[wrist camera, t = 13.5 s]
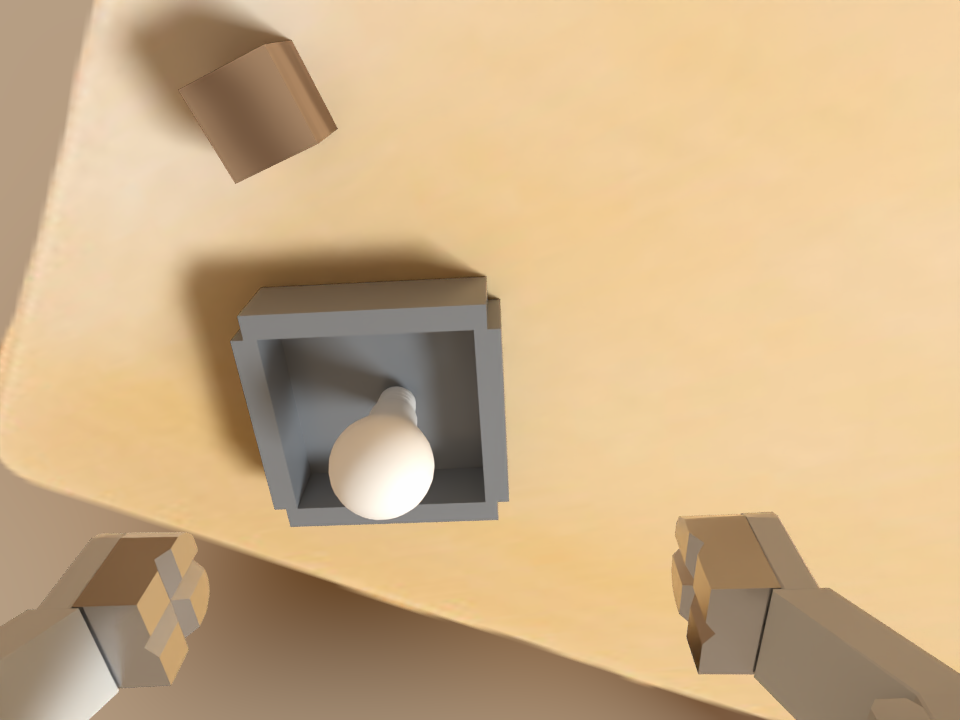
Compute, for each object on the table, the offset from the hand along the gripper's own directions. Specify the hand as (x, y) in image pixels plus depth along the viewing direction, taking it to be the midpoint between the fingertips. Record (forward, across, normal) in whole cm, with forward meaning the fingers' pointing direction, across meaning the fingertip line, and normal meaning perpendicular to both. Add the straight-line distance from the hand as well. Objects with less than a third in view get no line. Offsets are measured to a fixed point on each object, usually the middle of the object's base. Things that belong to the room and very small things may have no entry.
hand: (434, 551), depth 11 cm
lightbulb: (+31, +6, +15) cm, 35 cm away
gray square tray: (+31, +7, +15) cm, 35 cm away
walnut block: (+31, +11, -4) cm, 33 cm away
